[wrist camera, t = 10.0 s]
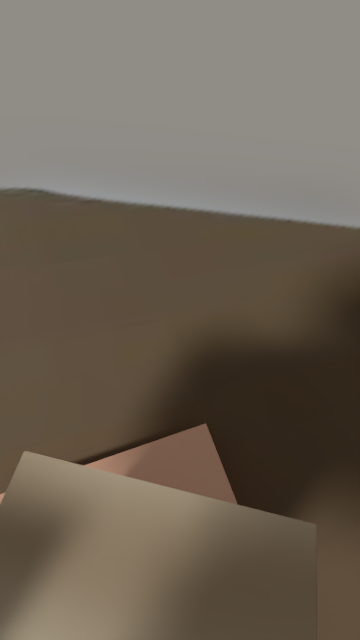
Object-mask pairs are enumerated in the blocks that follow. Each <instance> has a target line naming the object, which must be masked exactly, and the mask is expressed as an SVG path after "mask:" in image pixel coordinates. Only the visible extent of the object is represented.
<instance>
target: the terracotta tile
mask: <svg viewBox="0 0 360 640" xmlns="http://www.w3.org/2000/svg"><path fill="white" fill-rule="evenodd" d="M84 466H87V467H91V468H95V469H99V470H103V471H106V472H110V473H114V474H118V475H122V476H126V477H130V478H134V479H138V480H142V481H146V482H150V483H154V484H158V485H162V486H166V487H170V488H174V489H178V490H182V491H186V492H190V493H194V494H198V495H202V496H206V497H210V498H213V499H217V500H221V501H225V502H229V503H233V504H237V501H236V499H235V496H234V494H233V491H232V489H231V486H230V483H229V481H228V478H227V476H226V473H225V471H224V468H223V465H222V463H221V460H220V458H219V455H218V453H217V450H216V448H215V445H214V442H213V440H212V437H211V435H210V432H209V430H208V427H207V425H206V423H205V424H202V425H199V426H196V427H194V428H191V429H188V430H185V431H182V432H179V433H176V434H173V435H170V436H168V437H165V438H162V439H159V440H156V441H153V442H150V443H147V444H144V445H142V446H139V447H136V448H133V449H130V450H127V451H124V452H121V453H118V454H116V455H113V456H110V457H107V458H104V459H101V460H98V461H95V462H93V463H90V464H87V465H84ZM4 495H5V493H3V494H0V504H1V502H2V499H3V497H4ZM237 505H238V504H237Z"/></svg>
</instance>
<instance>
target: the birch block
mask: <svg viewBox="0 0 360 640" xmlns="http://www.w3.org/2000/svg"><path fill="white" fill-rule="evenodd" d="M0 640H317V548H316V524H313V523H309V522H305V521H301V520H297V519H293V518H289V517H285V516H281V515H277V514H273V513H269V512H265V511H261V510H257V509H253V508H249V507H245V506H241V505H237V504H233V503H229V502H225V501H221V500H217V499H213V498H210V497H206V496H202V495H198V494H194V493H190V492H186V491H182V490H178V489H174V488H170V487H166V486H162V485H158V484H154V483H150V482H146V481H142V480H138V479H134V478H130V477H126V476H122V475H118V474H114V473H110V472H106V471H103V470H99V469H95V468H91V467H87V466H83V465H79V464H75V463H71V462H67V461H63V460H59V459H55V458H51V457H47V456H43V455H39V454H35V453H31V452H27V451H24V453H23V455H22V457H21V459H20V462H19V464H18V466H17V468H16V471H15V473H14V475H13V477H12V479H11V482H10V484H9V486H8V488H7V491H6V493H5V495H4V497H3V499H2V502H1V504H0Z"/></svg>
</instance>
